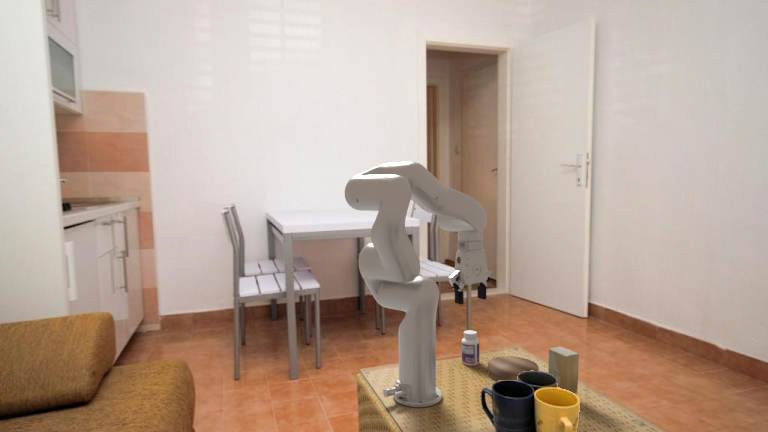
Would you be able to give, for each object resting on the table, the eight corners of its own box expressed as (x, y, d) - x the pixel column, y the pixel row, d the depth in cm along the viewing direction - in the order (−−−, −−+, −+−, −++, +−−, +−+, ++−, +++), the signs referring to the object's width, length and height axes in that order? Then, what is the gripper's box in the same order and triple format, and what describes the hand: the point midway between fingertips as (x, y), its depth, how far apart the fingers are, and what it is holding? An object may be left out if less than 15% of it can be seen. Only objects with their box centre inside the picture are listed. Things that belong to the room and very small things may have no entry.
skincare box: (547, 394, 122) (547, 348, 121) (559, 390, 123) (559, 345, 123) (566, 404, 116) (566, 355, 115) (578, 400, 118) (579, 353, 117)
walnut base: (516, 389, 124) (516, 378, 124) (477, 373, 136) (477, 362, 136) (548, 377, 132) (548, 366, 132) (510, 362, 144) (510, 353, 144)
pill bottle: (471, 358, 148) (471, 328, 147) (483, 364, 143) (483, 332, 143) (458, 362, 145) (457, 331, 144) (469, 367, 140) (469, 335, 140)
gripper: (457, 249, 134) (458, 308, 135) (499, 244, 144) (499, 299, 145) (440, 247, 140) (441, 303, 141) (481, 242, 150) (481, 294, 151)
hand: (470, 301), depth 143 cm, fingers open, 9 cm apart
